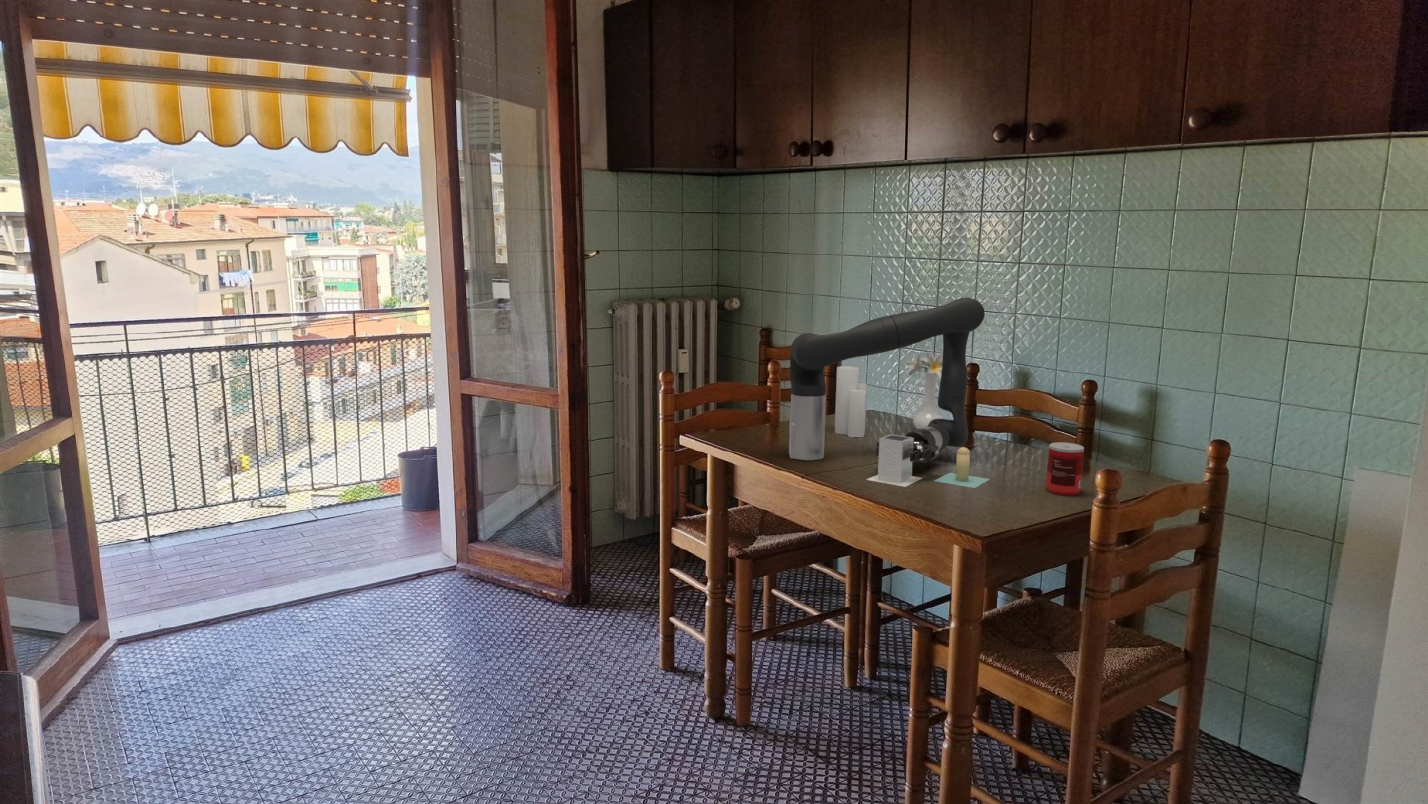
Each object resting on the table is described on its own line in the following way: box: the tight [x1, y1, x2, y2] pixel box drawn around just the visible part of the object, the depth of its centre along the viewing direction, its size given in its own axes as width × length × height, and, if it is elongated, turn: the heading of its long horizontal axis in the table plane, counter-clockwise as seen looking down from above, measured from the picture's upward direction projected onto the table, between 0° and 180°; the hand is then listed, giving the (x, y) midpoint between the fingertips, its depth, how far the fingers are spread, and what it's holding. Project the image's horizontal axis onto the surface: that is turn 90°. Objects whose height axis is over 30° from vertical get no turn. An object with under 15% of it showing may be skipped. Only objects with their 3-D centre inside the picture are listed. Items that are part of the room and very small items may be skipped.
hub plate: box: [933, 446, 991, 489], centre depth 212 cm, size 10×10×10 cm
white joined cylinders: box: [834, 365, 868, 438], centre depth 268 cm, size 11×7×20 cm, turn 37°
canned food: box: [1045, 441, 1085, 497], centre depth 208 cm, size 8×8×11 cm
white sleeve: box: [877, 433, 914, 483], centre depth 212 cm, size 6×6×10 cm
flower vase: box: [906, 351, 944, 429], centre depth 271 cm, size 13×18×25 cm
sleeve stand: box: [866, 474, 923, 488], centre depth 212 cm, size 10×10×10 cm
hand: (894, 454), depth 211 cm, fingers open, 8 cm apart
